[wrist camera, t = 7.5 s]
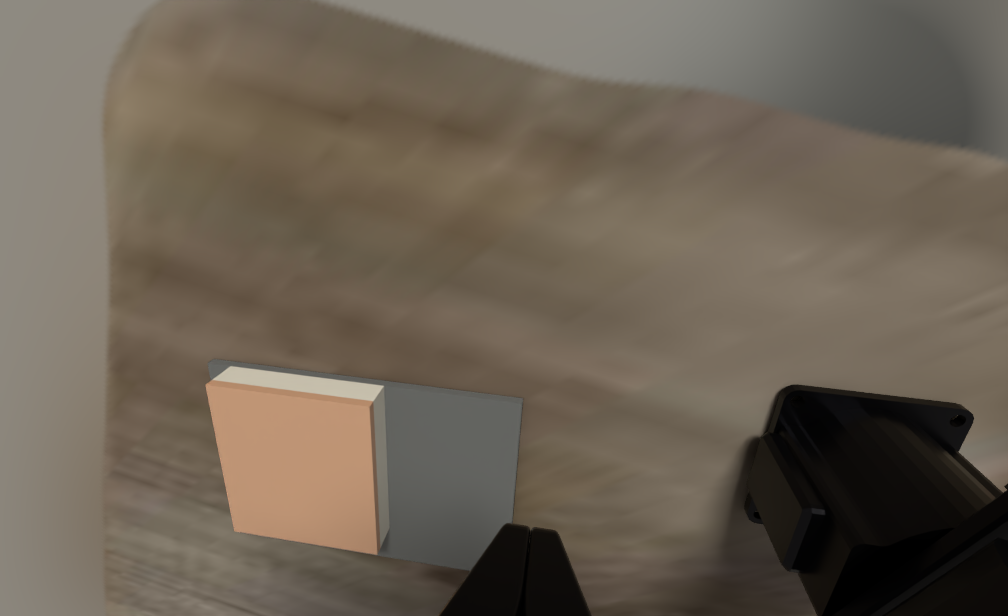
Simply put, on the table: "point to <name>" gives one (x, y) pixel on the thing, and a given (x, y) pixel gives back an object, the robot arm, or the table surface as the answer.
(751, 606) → the table surface
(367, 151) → the table surface
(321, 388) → the tile
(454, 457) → the mat
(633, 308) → the table surface
